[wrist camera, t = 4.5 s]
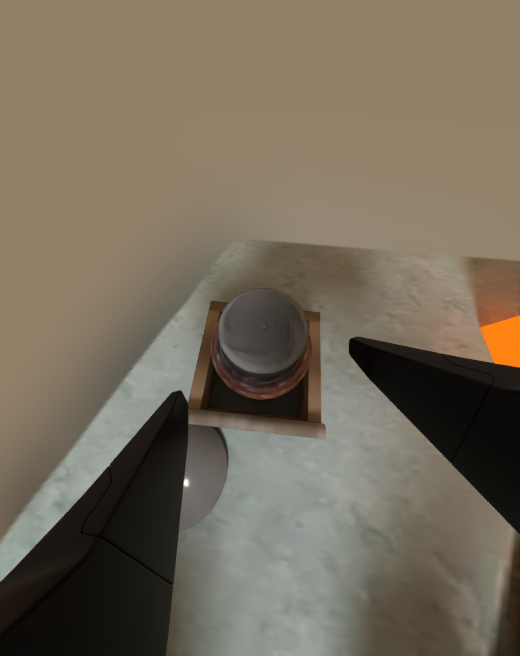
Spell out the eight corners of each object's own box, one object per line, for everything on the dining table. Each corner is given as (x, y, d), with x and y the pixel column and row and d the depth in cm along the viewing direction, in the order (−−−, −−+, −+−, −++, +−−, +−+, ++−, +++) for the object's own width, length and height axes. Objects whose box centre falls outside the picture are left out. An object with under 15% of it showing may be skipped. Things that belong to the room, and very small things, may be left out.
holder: (309, 430, 17) (326, 440, 13) (195, 417, 17) (178, 423, 13) (310, 324, 20) (323, 307, 16) (217, 313, 20) (208, 295, 17)
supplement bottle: (279, 332, 20) (308, 259, 9) (295, 389, 18) (358, 378, 7) (224, 345, 19) (187, 281, 8) (235, 405, 17) (205, 420, 6)
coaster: (218, 533, 14) (217, 536, 14) (119, 521, 14) (115, 525, 14) (233, 422, 17) (233, 422, 16) (150, 412, 17) (148, 413, 16)
